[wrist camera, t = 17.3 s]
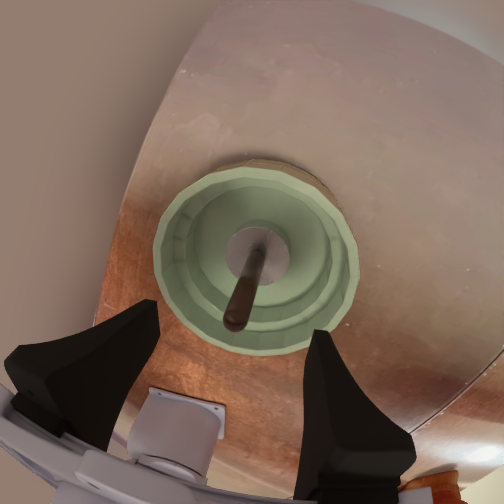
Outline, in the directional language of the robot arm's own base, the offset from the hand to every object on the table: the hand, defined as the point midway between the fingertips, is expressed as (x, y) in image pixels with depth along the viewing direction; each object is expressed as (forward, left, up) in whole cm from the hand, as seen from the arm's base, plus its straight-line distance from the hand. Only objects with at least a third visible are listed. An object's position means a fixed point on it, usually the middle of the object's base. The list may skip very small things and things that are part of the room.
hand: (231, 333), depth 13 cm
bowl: (0, 0, -10) cm, 10 cm away
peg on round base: (0, 0, -10) cm, 10 cm away
